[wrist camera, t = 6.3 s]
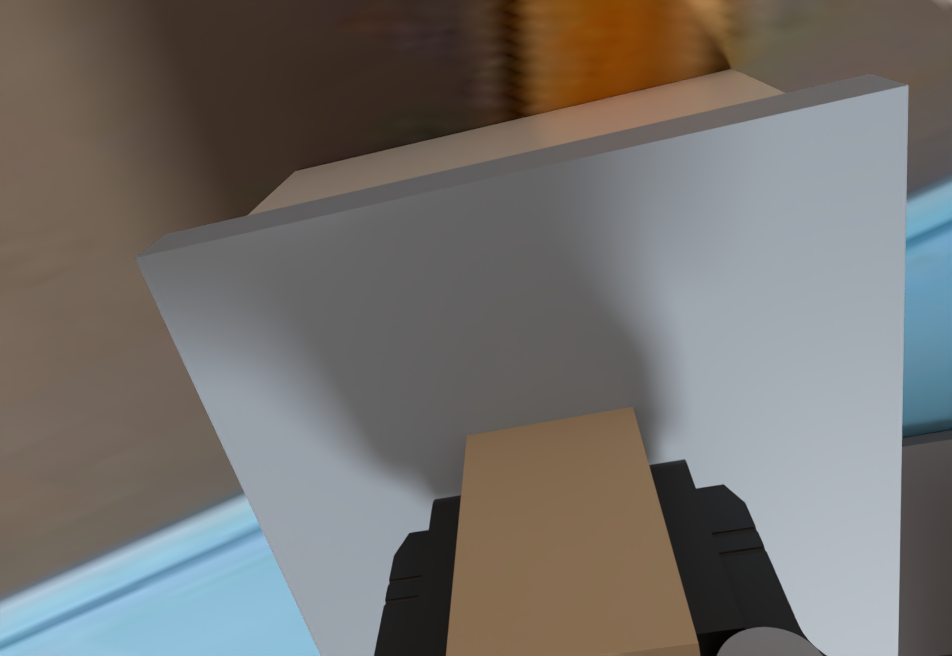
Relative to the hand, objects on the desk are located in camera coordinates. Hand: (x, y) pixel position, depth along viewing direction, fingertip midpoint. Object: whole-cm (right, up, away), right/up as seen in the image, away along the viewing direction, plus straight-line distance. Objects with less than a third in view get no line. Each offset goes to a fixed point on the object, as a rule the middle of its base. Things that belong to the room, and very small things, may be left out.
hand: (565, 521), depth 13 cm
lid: (0, +1, +2) cm, 2 cm away
